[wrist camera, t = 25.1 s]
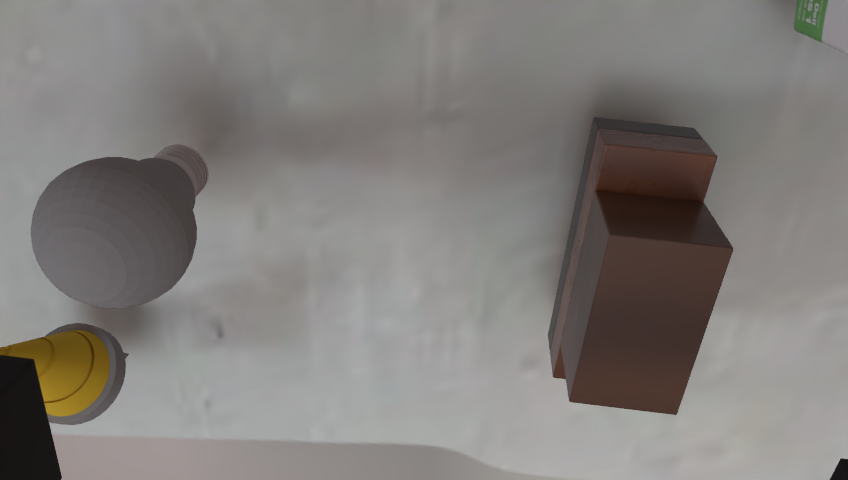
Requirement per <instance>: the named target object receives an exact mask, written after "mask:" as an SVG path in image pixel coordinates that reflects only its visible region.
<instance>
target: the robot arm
mask: <svg viewBox="0 0 848 480" xmlns="http://www.w3.org/2000/svg"><path fill="white" fill-rule="evenodd" d="M61 478H62V476H61V472H60V468H59V463H58V459H57V455H56V451H55V446H54V442H53V438H52V434H51V429H50V425H49V421H48V417H47V412H46V408H45V404H44V399H43V395H42V391H41V387H40V382H39V378H38V374H37V370H36V365H35V361H34V359H30V358H22V357H14V356H6V355H0V480H61ZM830 480H848V459H840V461H839V463H838V465H837V467H836V469H835V471H834V473H833V475H832V477H831V479H830Z"/></svg>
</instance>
